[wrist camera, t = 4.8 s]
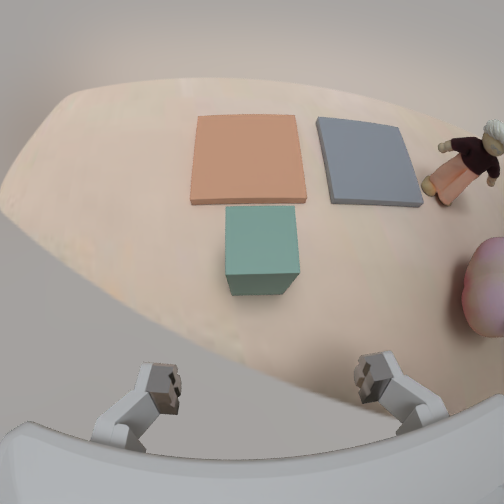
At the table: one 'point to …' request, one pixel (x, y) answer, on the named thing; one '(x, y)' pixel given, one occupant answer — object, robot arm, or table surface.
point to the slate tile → (367, 164)
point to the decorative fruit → (485, 289)
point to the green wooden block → (261, 249)
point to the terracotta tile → (247, 160)
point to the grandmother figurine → (467, 163)
